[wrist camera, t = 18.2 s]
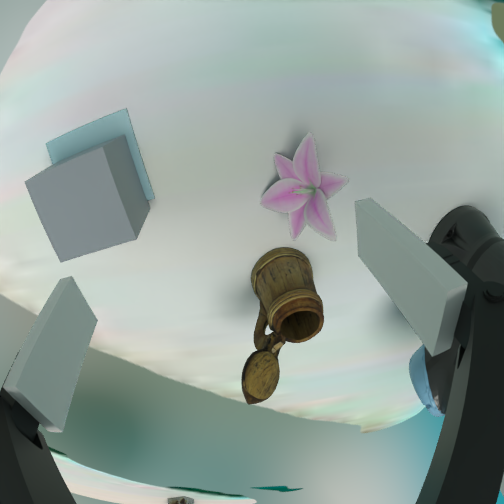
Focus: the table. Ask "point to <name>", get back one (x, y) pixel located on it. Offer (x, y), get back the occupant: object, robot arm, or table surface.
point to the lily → (304, 191)
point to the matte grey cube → (90, 199)
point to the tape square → (98, 134)
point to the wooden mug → (280, 316)
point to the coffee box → (180, 500)
